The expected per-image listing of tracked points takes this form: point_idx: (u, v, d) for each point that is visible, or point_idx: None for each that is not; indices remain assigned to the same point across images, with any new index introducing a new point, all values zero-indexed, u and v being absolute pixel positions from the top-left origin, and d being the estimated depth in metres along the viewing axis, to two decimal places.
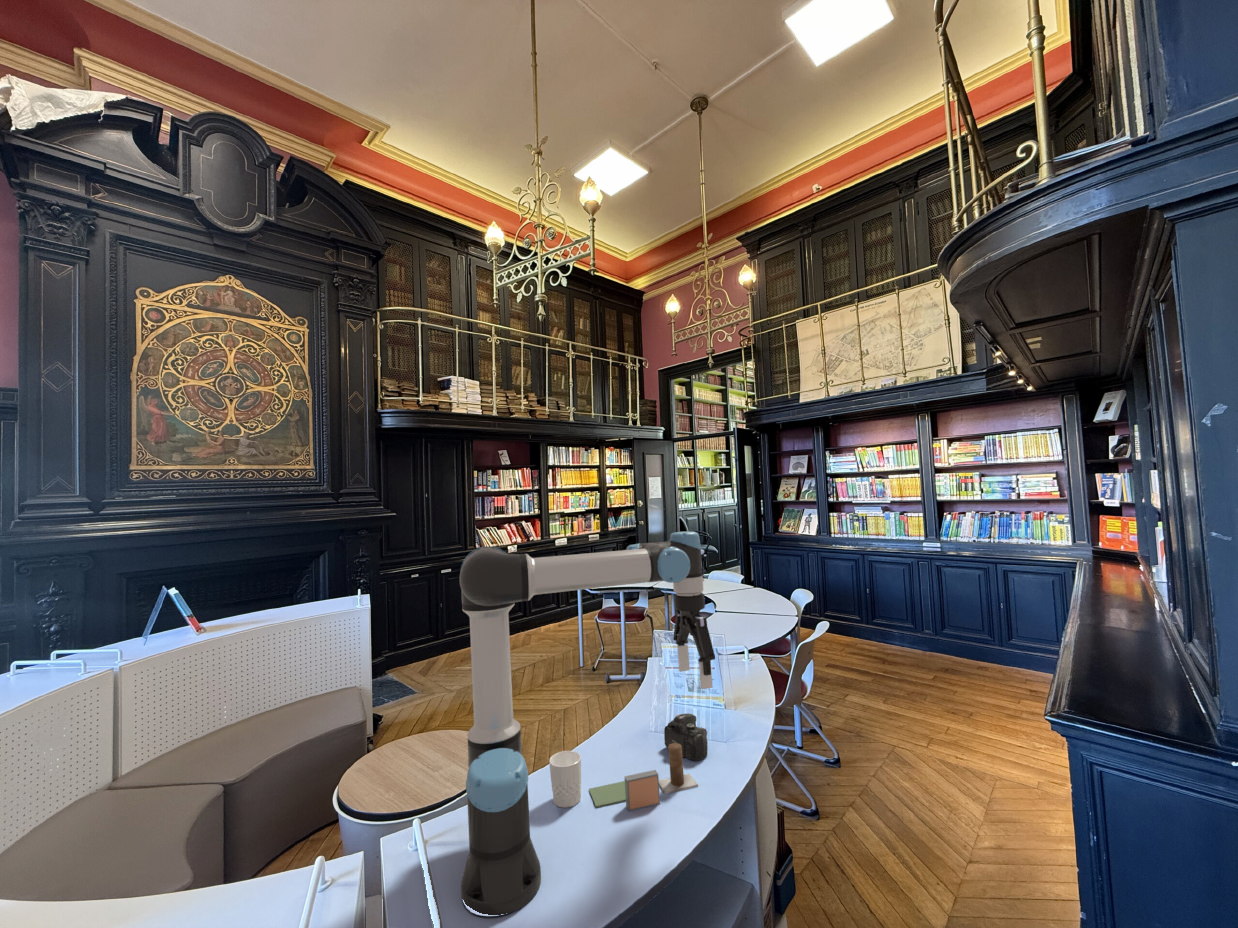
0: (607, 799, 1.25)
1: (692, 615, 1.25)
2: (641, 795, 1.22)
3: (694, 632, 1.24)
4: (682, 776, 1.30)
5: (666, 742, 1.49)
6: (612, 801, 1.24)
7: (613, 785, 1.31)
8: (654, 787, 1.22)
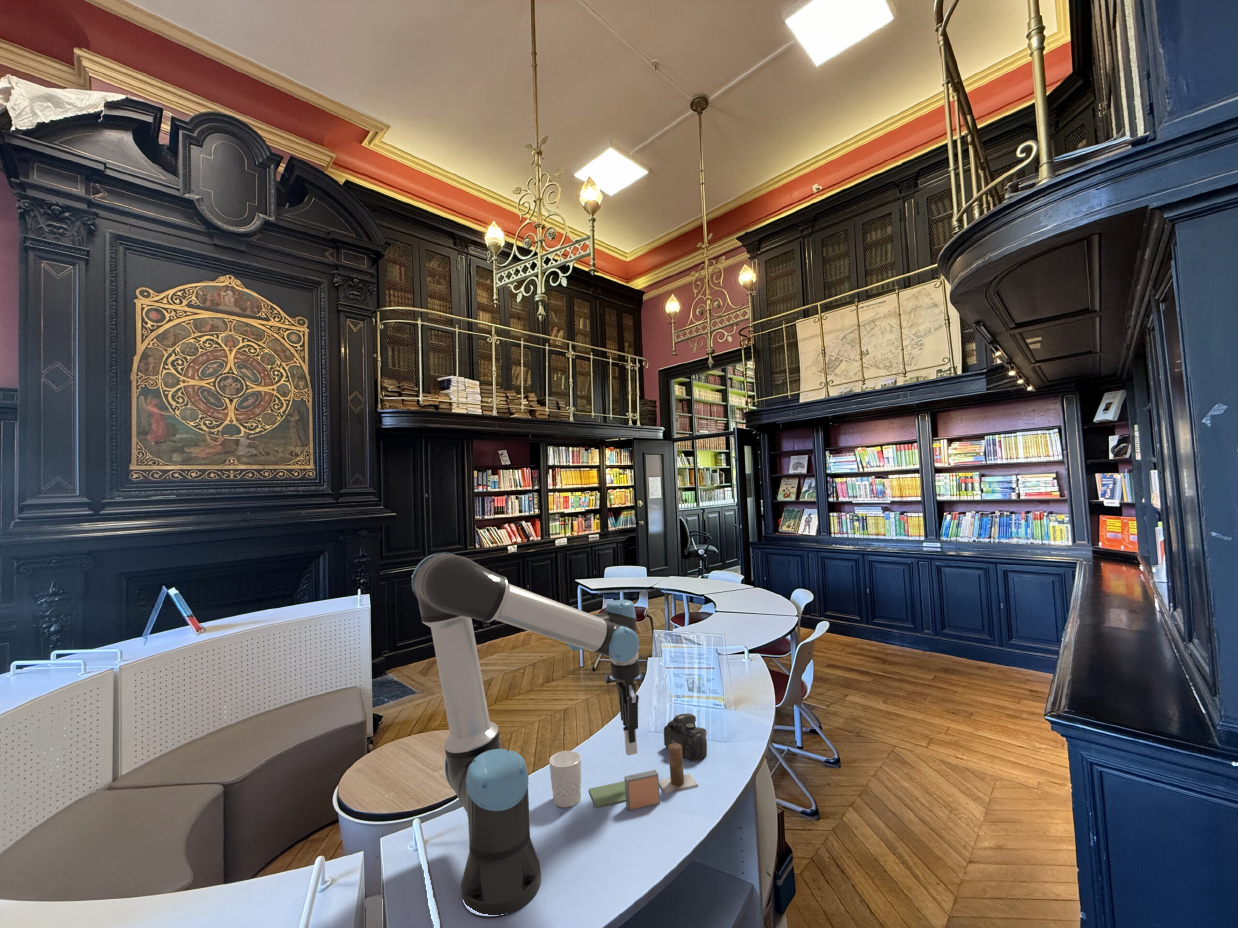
0: (607, 799, 1.25)
1: (627, 687, 1.29)
2: (641, 795, 1.22)
3: (626, 702, 1.31)
4: (682, 776, 1.30)
5: (666, 742, 1.49)
6: (612, 801, 1.24)
7: (613, 785, 1.31)
8: (654, 787, 1.22)
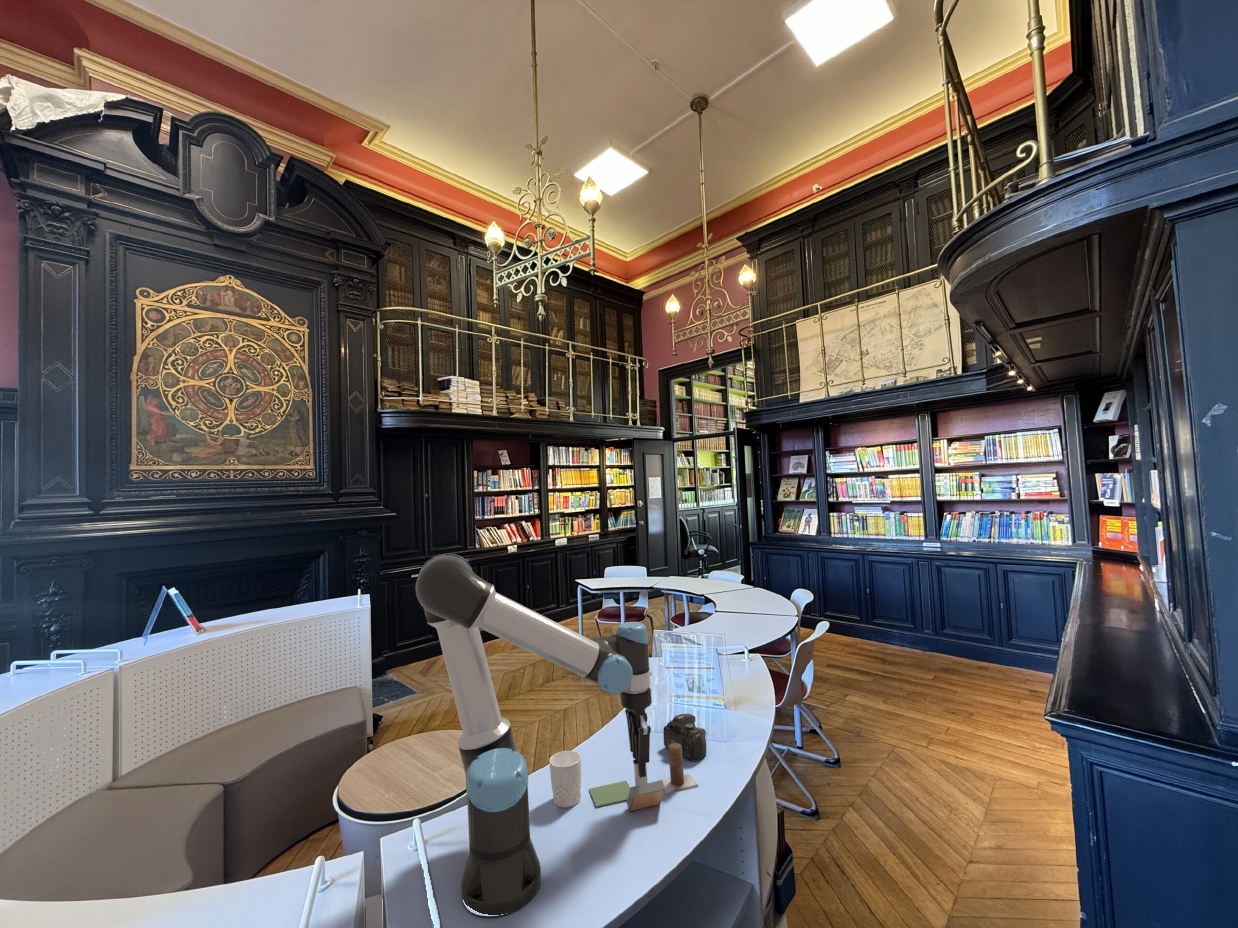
0: (607, 799, 1.25)
1: (638, 717, 1.20)
2: (644, 802, 1.20)
3: (636, 734, 1.22)
4: (682, 776, 1.30)
5: (665, 742, 1.49)
6: (612, 801, 1.24)
7: (613, 785, 1.31)
8: (658, 796, 1.20)
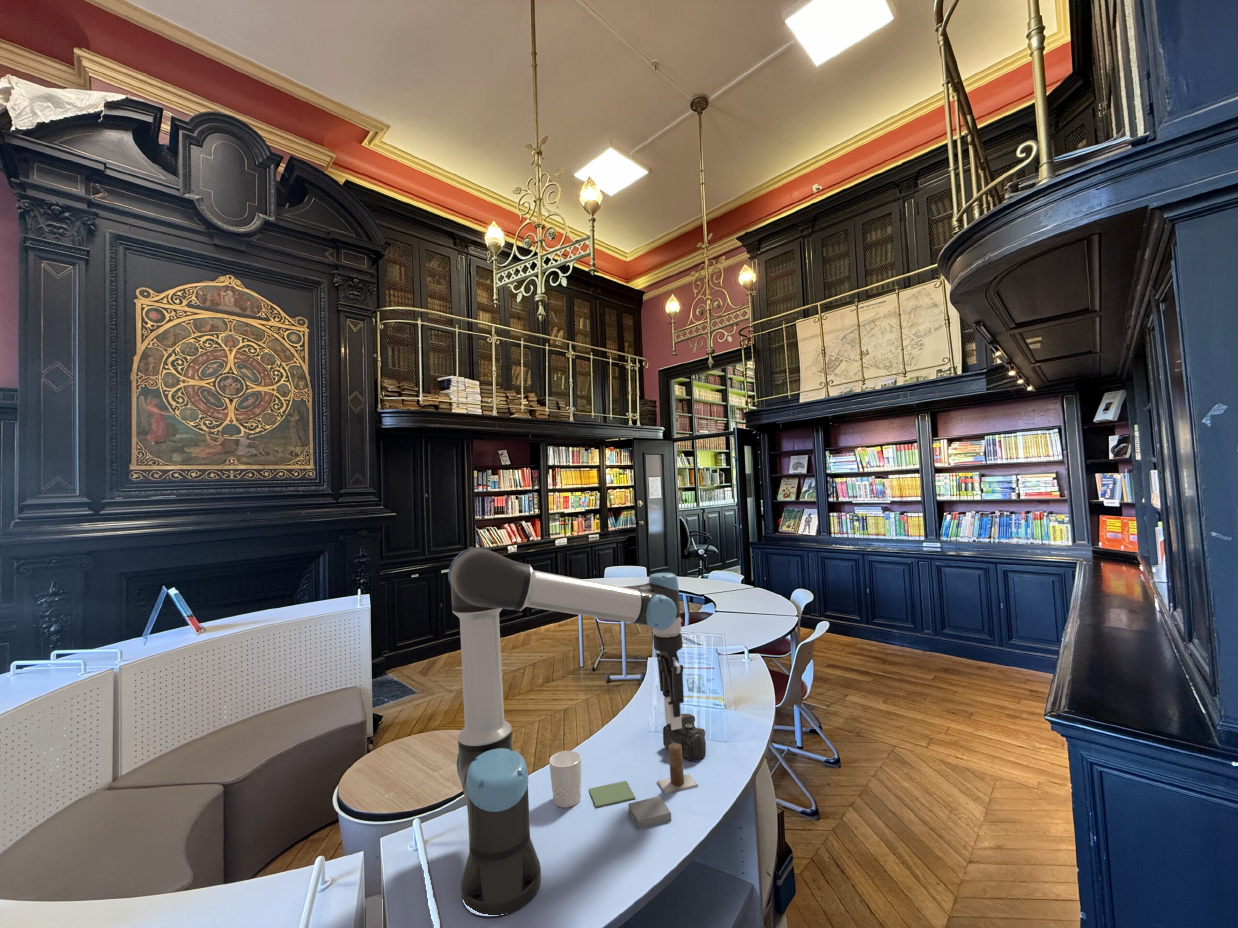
0: (607, 799, 1.25)
1: (670, 658, 1.29)
2: None
3: (669, 675, 1.30)
4: (682, 776, 1.30)
5: (665, 742, 1.49)
6: (612, 801, 1.24)
7: (613, 785, 1.31)
8: None
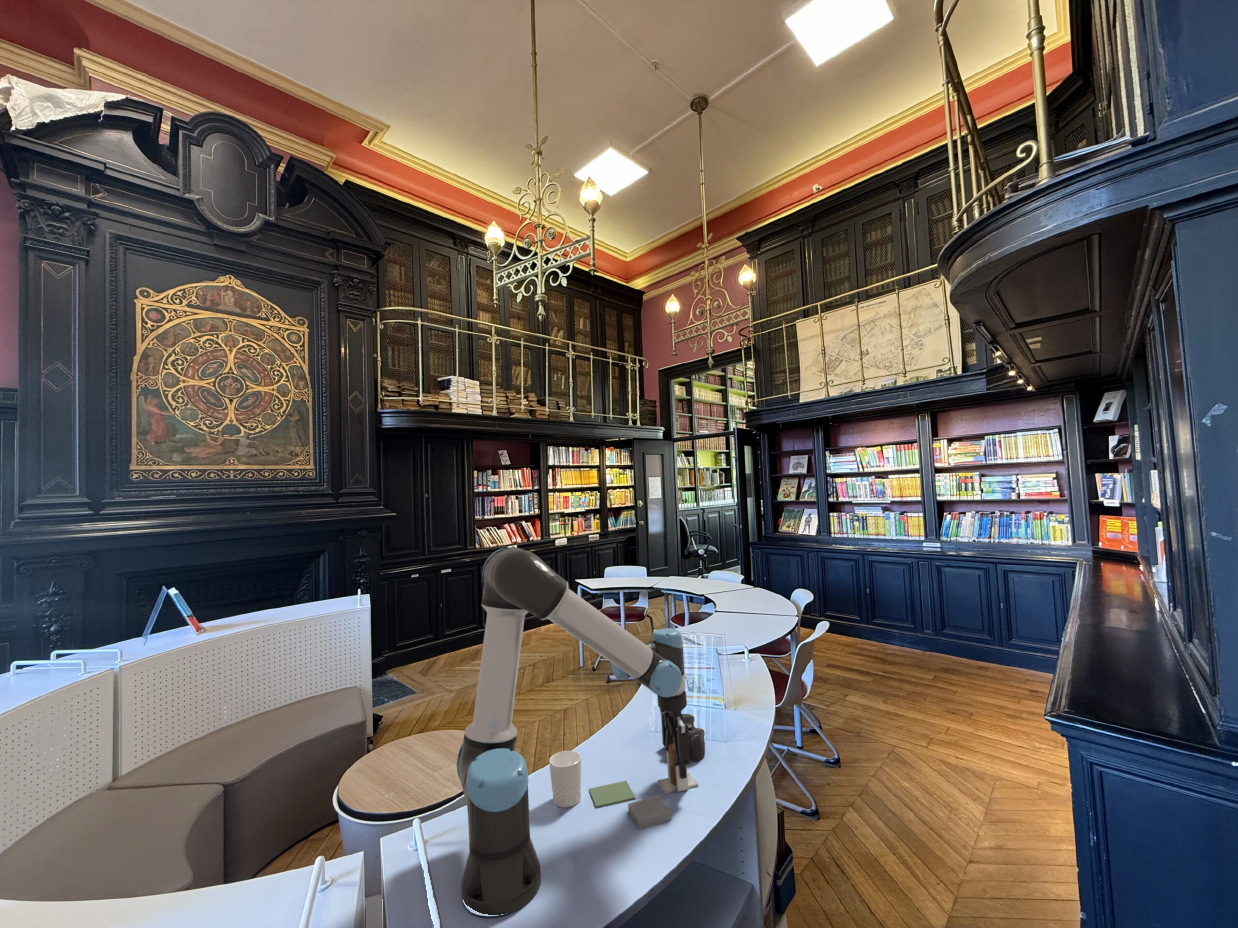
0: (607, 799, 1.25)
1: (675, 717, 1.28)
2: None
3: (674, 734, 1.28)
4: None
5: None
6: (612, 801, 1.24)
7: (613, 785, 1.31)
8: None
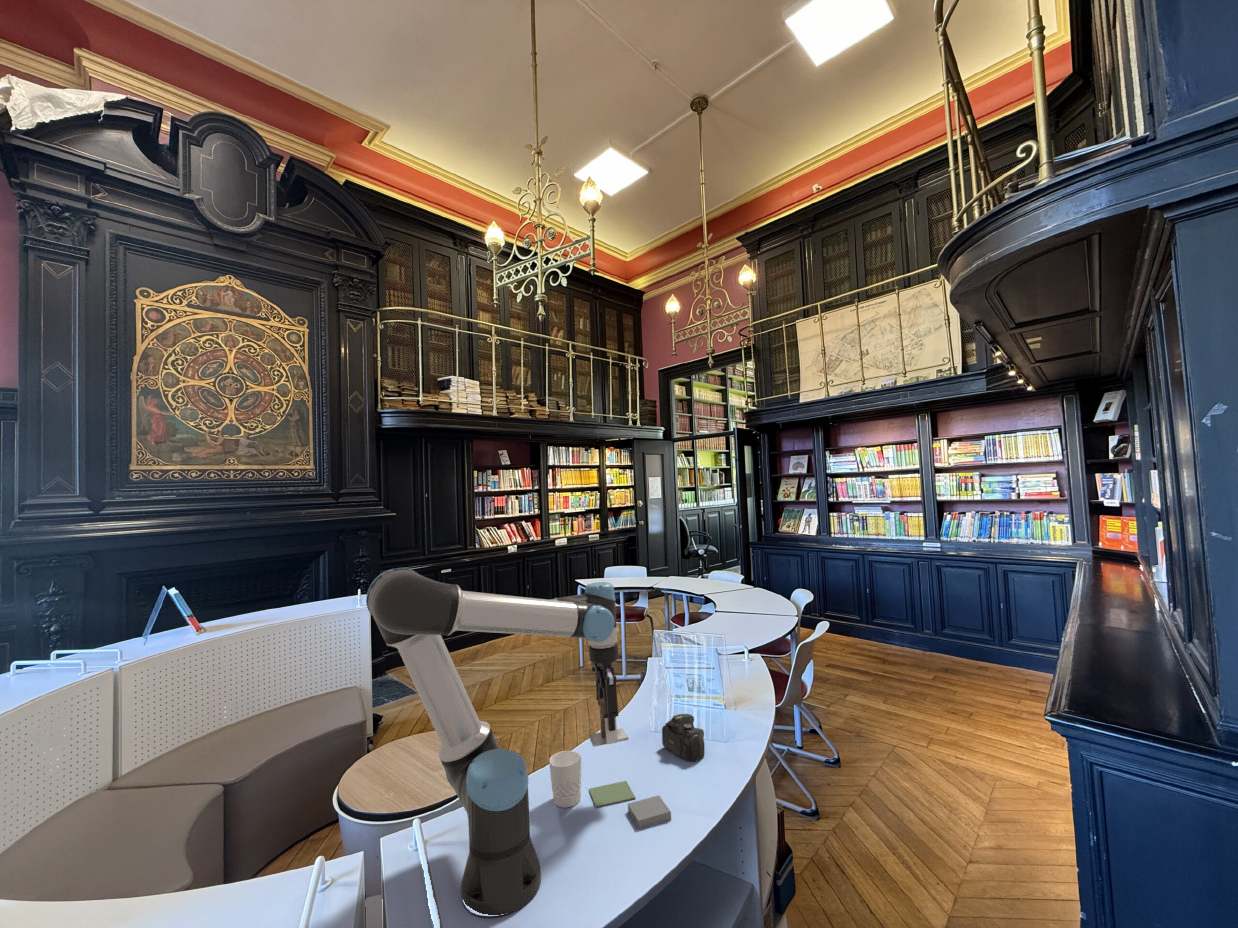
0: (607, 799, 1.25)
1: (604, 669, 1.26)
2: None
3: (604, 687, 1.27)
4: None
5: (664, 742, 1.50)
6: (612, 801, 1.24)
7: (613, 785, 1.31)
8: None
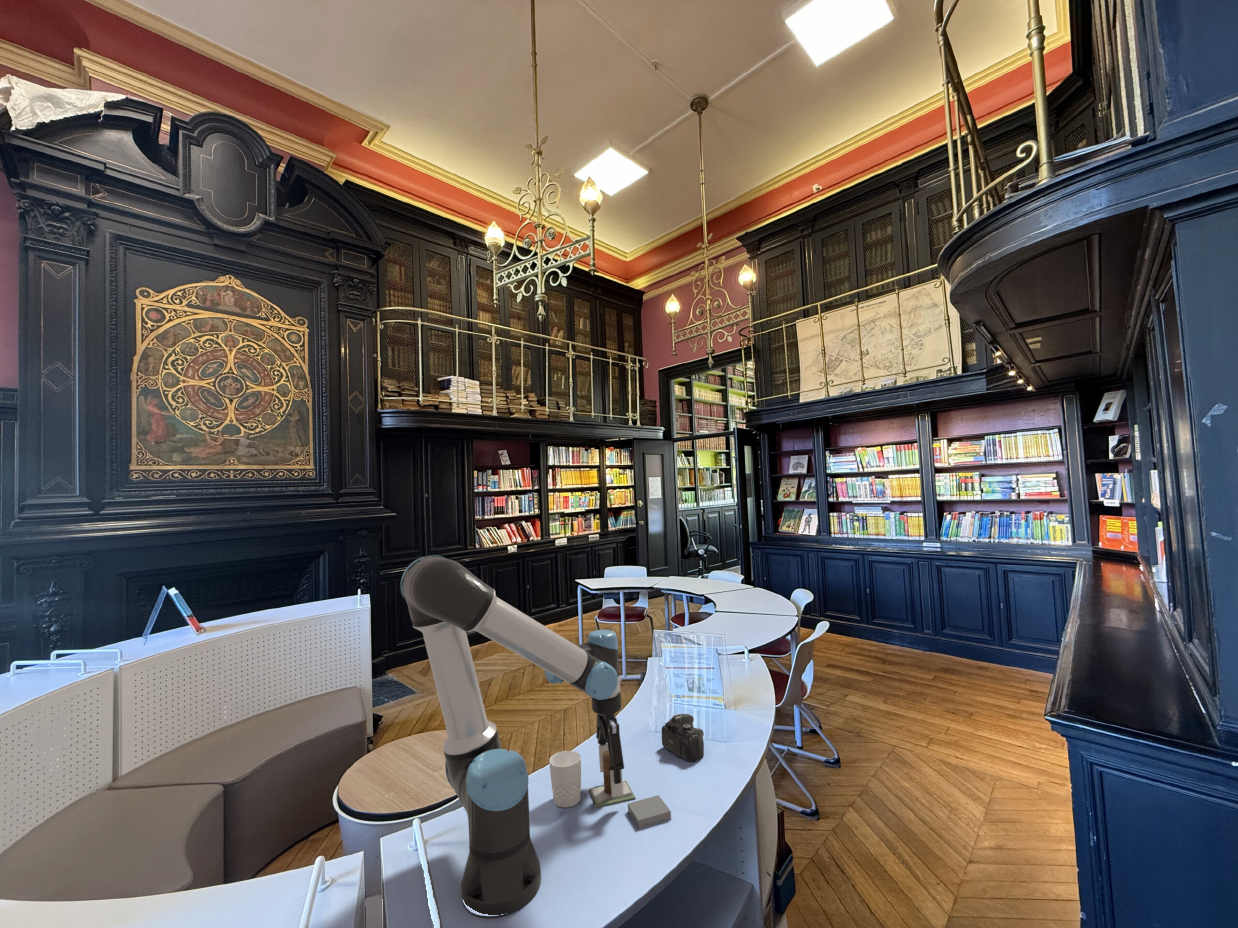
0: None
1: (606, 719, 1.25)
2: None
3: (608, 737, 1.25)
4: None
5: (663, 742, 1.50)
6: (612, 801, 1.24)
7: None
8: None
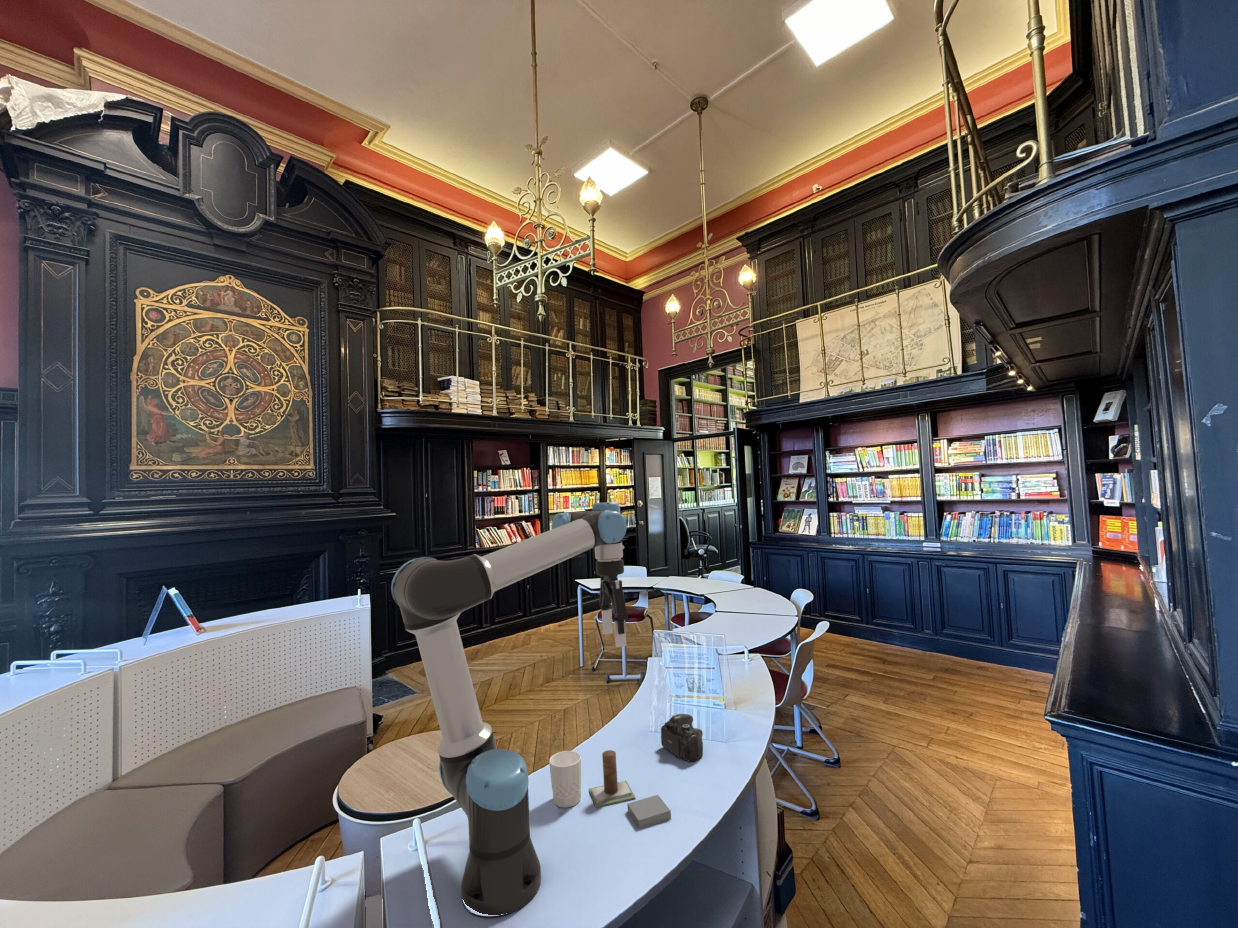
0: None
1: (610, 579, 1.33)
2: None
3: (611, 595, 1.32)
4: (615, 784, 1.27)
5: (662, 742, 1.50)
6: (612, 801, 1.24)
7: None
8: None
